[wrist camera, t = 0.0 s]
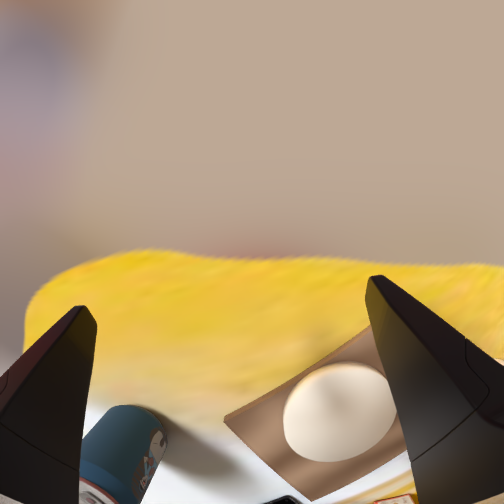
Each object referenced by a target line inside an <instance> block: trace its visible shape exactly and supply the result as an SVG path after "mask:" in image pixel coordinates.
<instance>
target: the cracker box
mask: <svg viewBox="0 0 504 504" xmlns="http://www.w3.org/2000/svg"><path fill="white" fill-rule="evenodd" d="M373 504H415V503H414V501H413V500H412V498H411V496H410V494H407V495H403V496H399V497H395V498H390V499H385V500H380V501H375V502H374V503H373Z"/></svg>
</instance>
